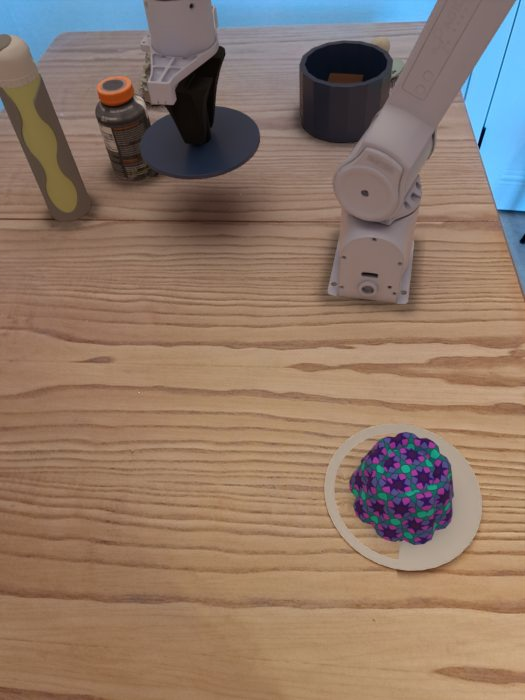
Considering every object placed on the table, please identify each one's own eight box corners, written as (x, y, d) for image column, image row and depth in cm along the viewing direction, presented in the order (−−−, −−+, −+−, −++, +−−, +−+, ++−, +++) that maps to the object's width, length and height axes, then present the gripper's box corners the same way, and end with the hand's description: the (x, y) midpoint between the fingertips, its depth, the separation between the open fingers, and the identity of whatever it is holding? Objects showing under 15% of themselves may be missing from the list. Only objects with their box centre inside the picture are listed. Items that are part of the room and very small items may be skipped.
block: (356, 124, 75) (359, 92, 72) (323, 122, 76) (324, 90, 72) (361, 106, 78) (363, 74, 74) (328, 104, 78) (329, 72, 75)
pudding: (356, 594, 41) (361, 573, 37) (304, 449, 48) (304, 417, 44) (509, 546, 42) (532, 520, 38) (437, 412, 49) (449, 377, 45)
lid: (245, 190, 55) (240, 147, 51) (125, 179, 57) (112, 137, 54) (271, 118, 62) (269, 76, 59) (163, 111, 64) (155, 70, 61)
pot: (381, 145, 73) (387, 89, 67) (293, 139, 75) (291, 83, 69) (389, 98, 79) (396, 42, 73) (308, 93, 81) (308, 38, 76)
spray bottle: (95, 219, 68) (29, 45, 52) (54, 229, 67) (-26, 57, 51) (90, 195, 70) (26, 23, 54) (50, 204, 70) (-26, 33, 54)
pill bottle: (165, 156, 74) (145, 69, 65) (155, 184, 71) (133, 97, 62) (120, 156, 75) (95, 70, 66) (109, 184, 71) (80, 98, 62)
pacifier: (345, 70, 85) (353, 90, 81) (347, 25, 80) (356, 44, 76) (394, 65, 85) (404, 84, 81) (399, 20, 80) (410, 38, 76)
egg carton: (154, 69, 88) (148, 42, 85) (202, 68, 88) (198, 41, 84) (138, 106, 82) (131, 78, 79) (190, 106, 81) (185, 78, 78)
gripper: (157, -49, 53) (183, 93, 63) (97, 24, 44) (138, 173, 55) (231, -47, 51) (244, 97, 62) (184, 28, 43) (208, 179, 54)
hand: (199, 133), depth 59 cm, fingers closed on lid, 2 cm apart
